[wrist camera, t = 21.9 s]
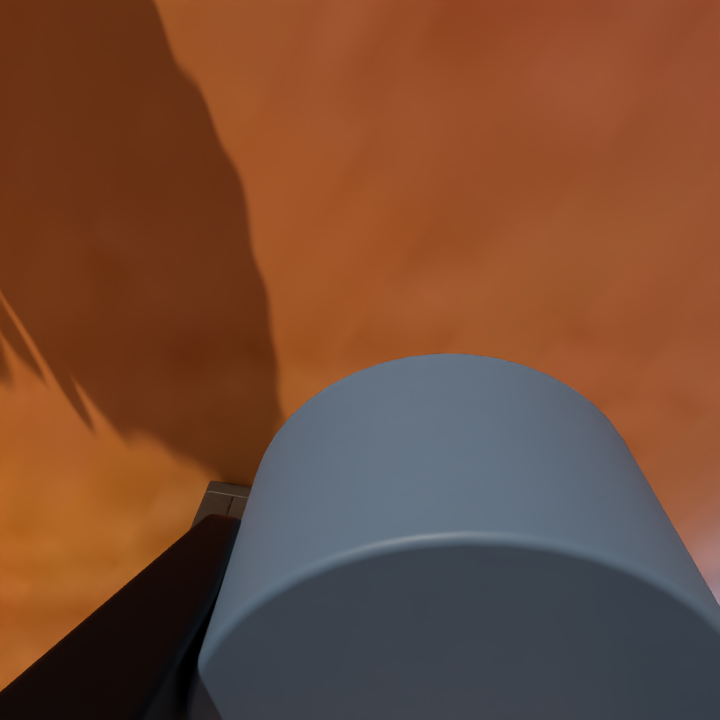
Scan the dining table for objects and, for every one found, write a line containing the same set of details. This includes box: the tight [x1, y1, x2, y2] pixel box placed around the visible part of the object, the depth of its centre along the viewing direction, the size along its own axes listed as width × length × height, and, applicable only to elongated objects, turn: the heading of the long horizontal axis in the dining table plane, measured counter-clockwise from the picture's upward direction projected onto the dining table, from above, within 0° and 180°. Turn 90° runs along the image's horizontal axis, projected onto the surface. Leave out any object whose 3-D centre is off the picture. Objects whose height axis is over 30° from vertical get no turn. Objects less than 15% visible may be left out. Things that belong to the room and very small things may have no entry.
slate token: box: [186, 354, 720, 720], centre depth 7 cm, size 5×5×3 cm
